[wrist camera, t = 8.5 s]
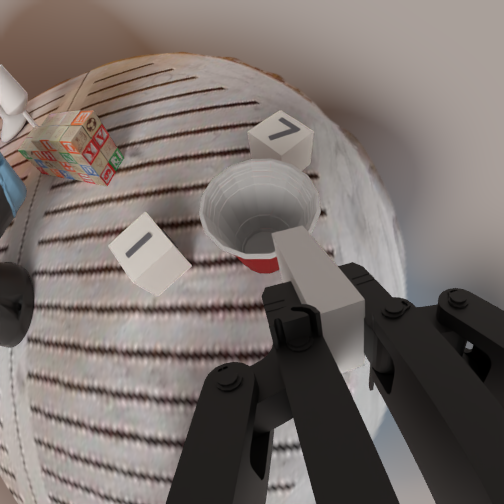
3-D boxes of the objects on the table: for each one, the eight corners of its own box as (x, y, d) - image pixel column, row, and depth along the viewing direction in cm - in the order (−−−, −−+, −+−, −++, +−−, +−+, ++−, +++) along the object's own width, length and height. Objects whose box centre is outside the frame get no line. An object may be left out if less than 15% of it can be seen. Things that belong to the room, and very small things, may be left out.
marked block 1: (134, 264, 37) (107, 245, 30) (167, 234, 38) (146, 209, 31) (157, 297, 35) (131, 282, 28) (193, 265, 36) (174, 243, 29)
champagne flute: (29, 148, 51) (-22, 88, 29) (40, 128, 53) (-6, 68, 31) (45, 143, 50) (-8, 76, 28) (57, 122, 53) (10, 57, 30)
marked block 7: (252, 164, 41) (247, 130, 34) (281, 142, 42) (280, 108, 35) (281, 188, 39) (281, 154, 32) (310, 163, 40) (315, 129, 33)
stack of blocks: (42, 175, 46) (9, 141, 35) (57, 151, 48) (27, 116, 37) (108, 187, 42) (69, 141, 31) (125, 157, 44) (93, 108, 33)
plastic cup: (298, 205, 38) (303, 145, 27) (317, 283, 34) (336, 245, 23) (217, 220, 38) (194, 164, 27) (228, 300, 34) (203, 270, 23)
